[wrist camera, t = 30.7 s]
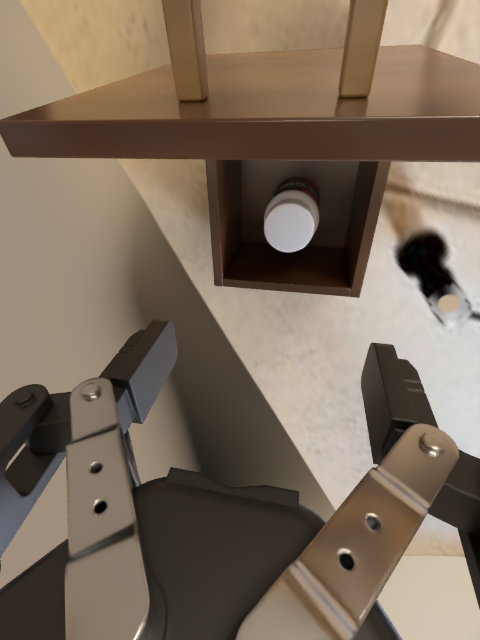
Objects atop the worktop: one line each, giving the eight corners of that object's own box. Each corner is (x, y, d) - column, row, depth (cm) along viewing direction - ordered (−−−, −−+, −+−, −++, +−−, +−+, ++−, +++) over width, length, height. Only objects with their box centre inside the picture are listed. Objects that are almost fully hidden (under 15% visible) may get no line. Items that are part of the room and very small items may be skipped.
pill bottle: (326, 183, 30) (329, 207, 23) (309, 230, 33) (308, 263, 26) (279, 170, 30) (268, 189, 23) (266, 218, 33) (253, 247, 26)
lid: (594, 164, 6) (1149, -636, 2) (11, 157, 8) (-198, -247, 4) (415, 63, 17) (456, -90, 14) (197, 72, 19) (182, -59, 16)
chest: (349, 252, 34) (359, 298, 26) (236, 246, 36) (214, 285, 28) (385, 70, 25) (416, 55, 17) (232, 75, 27) (198, 64, 20)
